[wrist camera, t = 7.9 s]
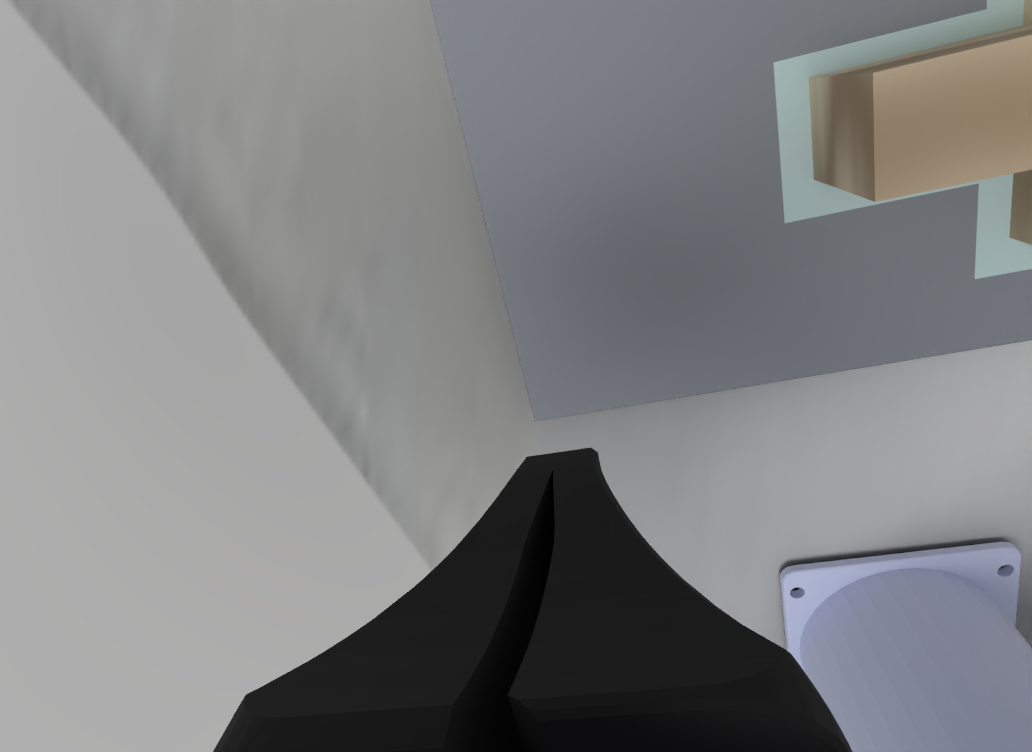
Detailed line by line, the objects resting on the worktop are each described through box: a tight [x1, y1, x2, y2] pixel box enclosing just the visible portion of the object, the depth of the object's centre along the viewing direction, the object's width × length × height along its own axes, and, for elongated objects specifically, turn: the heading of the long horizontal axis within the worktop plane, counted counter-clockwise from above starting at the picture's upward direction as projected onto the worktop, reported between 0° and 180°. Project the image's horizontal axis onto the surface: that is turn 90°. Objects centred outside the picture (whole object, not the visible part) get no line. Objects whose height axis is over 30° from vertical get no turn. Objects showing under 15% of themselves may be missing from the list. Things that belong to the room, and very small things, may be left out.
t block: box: [809, 0, 1032, 245], centre depth 14 cm, size 8×8×4 cm
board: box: [430, 0, 1032, 421], centre depth 17 cm, size 15×19×1 cm
